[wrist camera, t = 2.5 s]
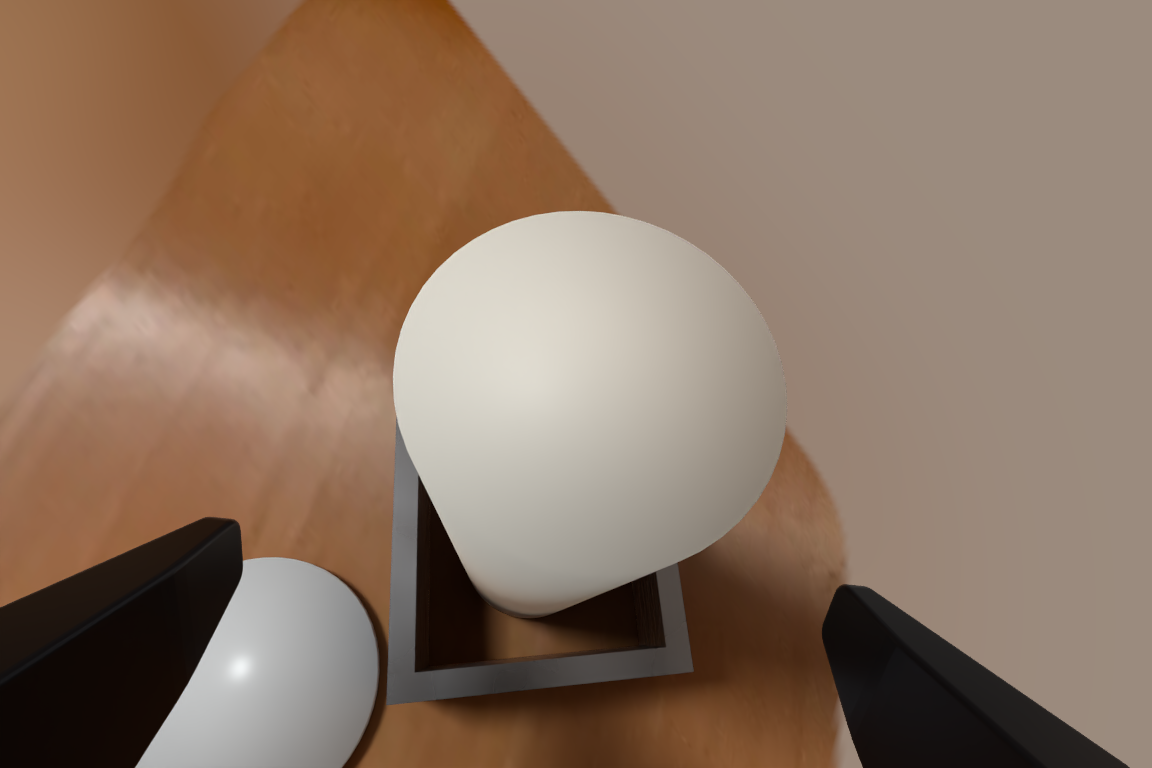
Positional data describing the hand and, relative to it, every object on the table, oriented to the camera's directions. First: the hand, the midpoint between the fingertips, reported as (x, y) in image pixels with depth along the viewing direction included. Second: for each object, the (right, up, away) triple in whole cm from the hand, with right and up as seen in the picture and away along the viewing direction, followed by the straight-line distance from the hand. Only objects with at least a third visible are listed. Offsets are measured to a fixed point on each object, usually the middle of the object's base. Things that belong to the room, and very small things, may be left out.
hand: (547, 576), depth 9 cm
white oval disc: (-8, -5, +7) cm, 12 cm away
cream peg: (-1, -2, +9) cm, 9 cm away
